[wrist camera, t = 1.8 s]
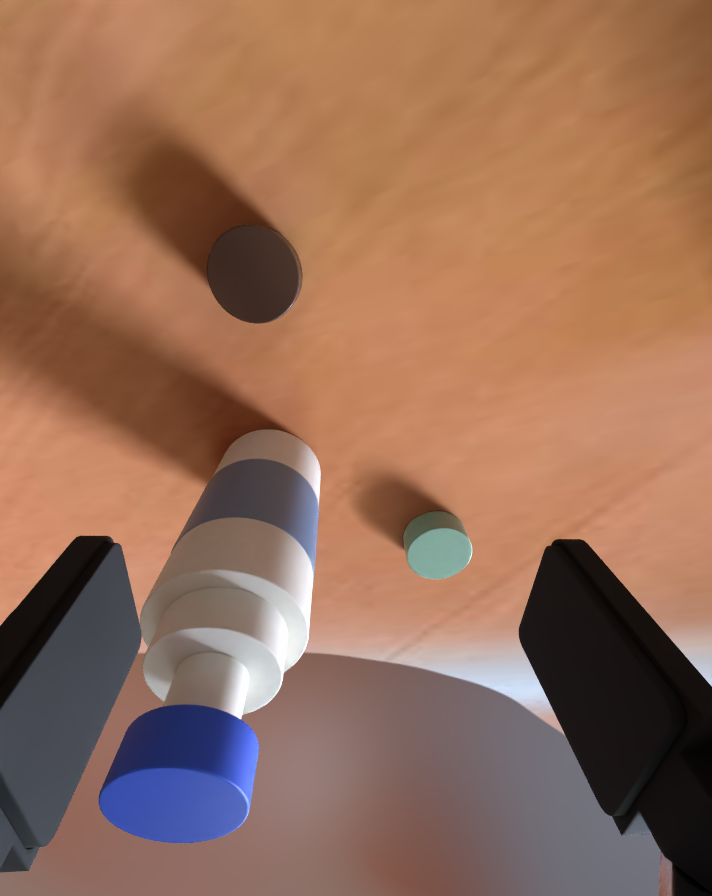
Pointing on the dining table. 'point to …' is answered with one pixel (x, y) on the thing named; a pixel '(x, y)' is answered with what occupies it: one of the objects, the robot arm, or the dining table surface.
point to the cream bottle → (220, 643)
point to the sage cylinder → (437, 545)
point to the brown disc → (254, 273)
